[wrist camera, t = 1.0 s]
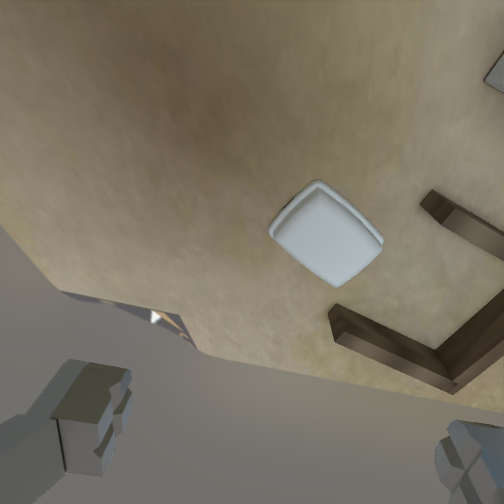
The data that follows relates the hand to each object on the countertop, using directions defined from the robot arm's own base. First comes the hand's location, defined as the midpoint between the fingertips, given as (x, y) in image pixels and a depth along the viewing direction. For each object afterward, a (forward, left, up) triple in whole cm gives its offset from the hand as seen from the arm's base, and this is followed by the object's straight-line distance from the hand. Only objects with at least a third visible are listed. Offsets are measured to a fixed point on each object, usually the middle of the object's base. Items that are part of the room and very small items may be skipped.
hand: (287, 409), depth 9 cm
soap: (+7, -3, -23) cm, 24 cm away
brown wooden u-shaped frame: (+19, -3, -22) cm, 29 cm away
